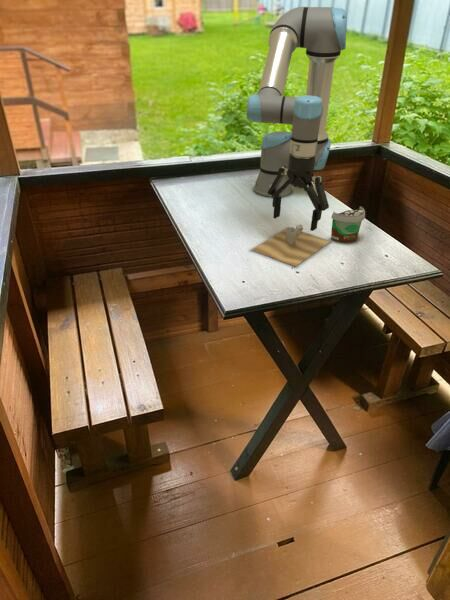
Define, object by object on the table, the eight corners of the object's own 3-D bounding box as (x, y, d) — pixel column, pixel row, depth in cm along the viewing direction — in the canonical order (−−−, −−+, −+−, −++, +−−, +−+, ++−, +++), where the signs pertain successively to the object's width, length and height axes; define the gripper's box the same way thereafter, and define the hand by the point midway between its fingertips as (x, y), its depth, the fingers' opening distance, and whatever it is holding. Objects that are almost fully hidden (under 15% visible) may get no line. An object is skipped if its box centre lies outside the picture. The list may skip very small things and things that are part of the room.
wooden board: (288, 228, 155) (289, 227, 155) (329, 241, 147) (330, 241, 146) (252, 250, 140) (252, 249, 140) (295, 266, 132) (295, 266, 132)
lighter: (285, 240, 146) (287, 218, 142) (289, 239, 147) (292, 217, 142) (295, 250, 141) (298, 226, 136) (300, 249, 141) (303, 226, 137)
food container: (339, 247, 143) (344, 219, 138) (327, 240, 148) (332, 212, 142) (368, 240, 148) (374, 212, 142) (355, 233, 152) (361, 205, 147)
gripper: (259, 149, 131) (255, 215, 143) (335, 167, 118) (324, 238, 131) (273, 144, 136) (268, 208, 148) (348, 161, 123) (335, 230, 135)
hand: (294, 223), depth 139 cm, fingers open, 13 cm apart
